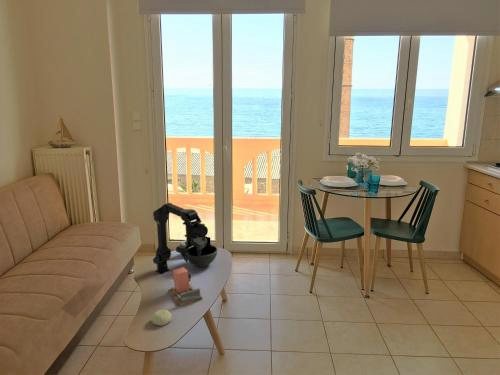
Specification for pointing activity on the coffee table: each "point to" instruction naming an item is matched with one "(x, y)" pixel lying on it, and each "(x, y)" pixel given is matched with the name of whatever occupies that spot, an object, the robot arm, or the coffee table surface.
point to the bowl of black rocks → (202, 254)
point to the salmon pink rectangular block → (181, 280)
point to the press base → (186, 295)
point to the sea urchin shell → (161, 317)
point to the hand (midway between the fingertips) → (193, 259)
